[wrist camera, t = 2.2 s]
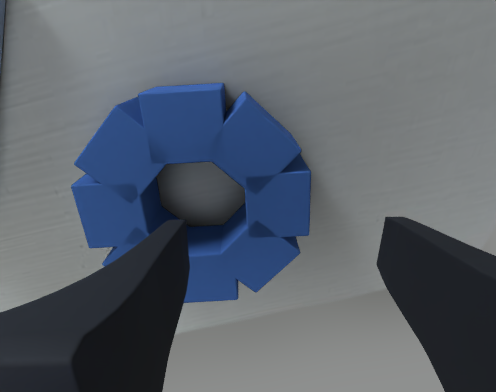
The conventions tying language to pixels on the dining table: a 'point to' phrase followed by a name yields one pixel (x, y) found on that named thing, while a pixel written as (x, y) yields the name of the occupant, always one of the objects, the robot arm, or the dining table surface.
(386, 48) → the dining table surface
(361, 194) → the dining table surface
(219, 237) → the ring
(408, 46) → the dining table surface
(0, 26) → the shower valve
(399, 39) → the dining table surface
